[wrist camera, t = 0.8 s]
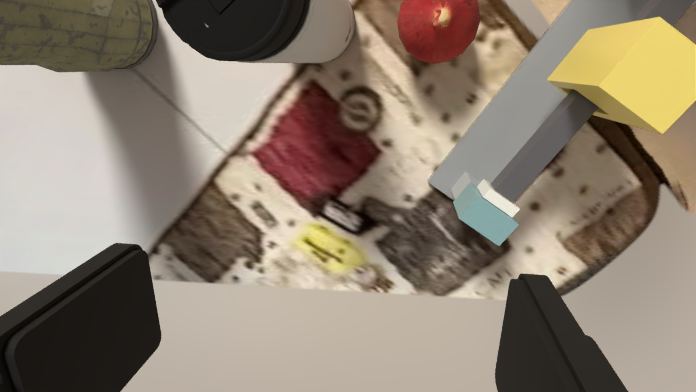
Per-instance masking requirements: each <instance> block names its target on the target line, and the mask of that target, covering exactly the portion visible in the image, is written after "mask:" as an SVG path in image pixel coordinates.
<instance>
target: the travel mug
mask: <svg viewBox="0 0 696 392" xmlns="http://www.w3.org/2000/svg"><path fill="white" fill-rule="evenodd" d="M156 2H157V4H158V6H159V7H160V8H162V10H163V14H164V18H165V19H166V21H167V22H168V24H169V25H170V27H171V28H172V30H173V31H174V32H175V33H176V34H177V35H178V36H179V37H180V39H181V40H182V41H183V42H185V43H187V44H189V46H190V47H192V48H193V49H195V50H196V51H198V52H199V53H200V54H202V55H203V56H205V57H207V58H211V59H215V60H219V61H238V62H249V63H324V62H329V61H331V60H334V59H335V58H337V57H338V56H340V55H341V54H342V53H343V52H344V51H345V50H346V49H347V47H348V46H349V44H350V42H351V40H352V37H353V34H354V29H355V18H354V12H353V9H352V6H351V4H350V2H349V0H156Z"/></svg>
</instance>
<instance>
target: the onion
mask: <svg viewBox="0 0 696 392" xmlns="http://www.w3.org/2000/svg"><path fill="white" fill-rule="evenodd" d="M397 23H398V30H399V37H400V39H401V41H402V43H403V45H404V47H405V49H406V51H407V52H408V53H410V54H411V55H412V56H414V57H415V58H416V59H417V60H419V61H423V62H428V63H432V64H435V63H441V62H448V61H450V60H452V59H453V58H455V57H457V56H459V55H460V54H462V53H463V52H464V51H465V50H466V48H467V47H468V46H469V45H470V44H471V42H472V41H473V40H474V39H475V36H476V33H477V30H478V26H479V23H480V14H479V4H478V1H477V0H404V1H403V2H402V4H401V7H400V12H399V17H398V21H397Z"/></svg>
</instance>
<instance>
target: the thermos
mask: <svg viewBox="0 0 696 392" xmlns="http://www.w3.org/2000/svg"><path fill="white" fill-rule="evenodd" d="M157 27H158V23H157V17H156V10H155V7H154V4H153V2H152V0H0V65H38V66H41V67H44V68H47V69H50V70H53V71H56V72H84V71H110V70H112V69H128V68H131V67H133V66H136V65H138V64H140V63H141V62H142V61H143V60H144V59H145V58H146V57H147V56H148V55H149V54H150V52H151V50H152V48H153V46H154V44H155V42H156V36H157Z"/></svg>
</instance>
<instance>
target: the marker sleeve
mask: <svg viewBox="0 0 696 392" xmlns="http://www.w3.org/2000/svg"><path fill="white" fill-rule="evenodd" d="M547 81H548V82H550V83H551V84H552V85H554V86H555V87H556V88H558V89H559V90H560V91H562V92H563V93H564V94H566V95H568V93H569V92H570V91H571V90H572V89H575V90H576V91H578V92H579V93H580V94H582V95H583V96H584V97H586V98H587V99H588V100H590V101H591V102H592V103H594V104H595V105H597V106H598V107H599V108H598V109H597V110H596V111H595V112H594V113H593V115H594V116H598V117H601V118H605V119H609V120H613V121H616V122H620V123H624V124H627V125H631V126H635V127H638V128H642V129H646V130H649V131H653V132H657V133H660V134H663V133H664V132H665V131H666V130H667V129H668V128H669V127H670V126H671V125H672V124H673V123H674V122H675V121H676V120H677V119H678V118H679V117H680V116H681V115H682V114H683V113H684V112H685V111H686V110H687V109H688V108H689V107H690V106H691V105H692V104H693V103H694V102H695V101H696V44H694V43H693V42H692V41H690V40H689V39H688V38H687V37H685V36H684V35H683V34H681V33H680V32H679V31H678V30H676V29H675V28H674V27H672V26H671V25H670V24H669V23H667V22H666V21H665V20H663V19H662V18H661V17H655V18H650V19H644V20H639V21H633V22H628V23H622V24H617V25H611V26H606V27H601V28H595V29H590V30H587V32H586V33H585V34H584V35H583V36H582V38H581V39H580V40H579V41H578V42H577V44H576V45H575V46H574V47H573V48H572V50H571V51H570V52H569V53H568V55H567V56H566V57H565V58H564V59H563V61H562V62H561V63H560V64H559V65H558V67H557V68H556V69H555V70H554V71H553V73H552V74H551V75H550V76H549V77H548V79H547Z"/></svg>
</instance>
